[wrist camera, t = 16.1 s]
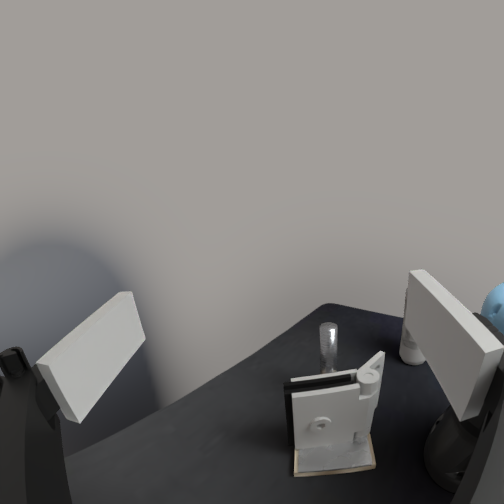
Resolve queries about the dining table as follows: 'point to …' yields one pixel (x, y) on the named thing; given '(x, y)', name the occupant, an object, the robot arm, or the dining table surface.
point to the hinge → (332, 405)
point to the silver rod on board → (342, 453)
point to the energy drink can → (409, 345)
